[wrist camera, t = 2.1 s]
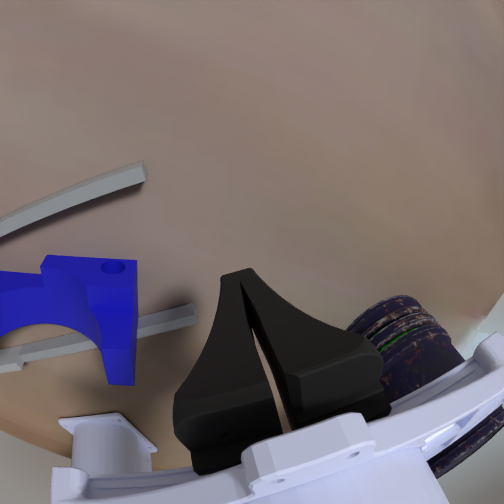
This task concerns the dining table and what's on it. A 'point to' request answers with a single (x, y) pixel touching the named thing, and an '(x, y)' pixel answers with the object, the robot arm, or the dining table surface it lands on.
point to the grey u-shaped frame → (57, 202)
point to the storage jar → (419, 366)
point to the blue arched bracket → (80, 305)
